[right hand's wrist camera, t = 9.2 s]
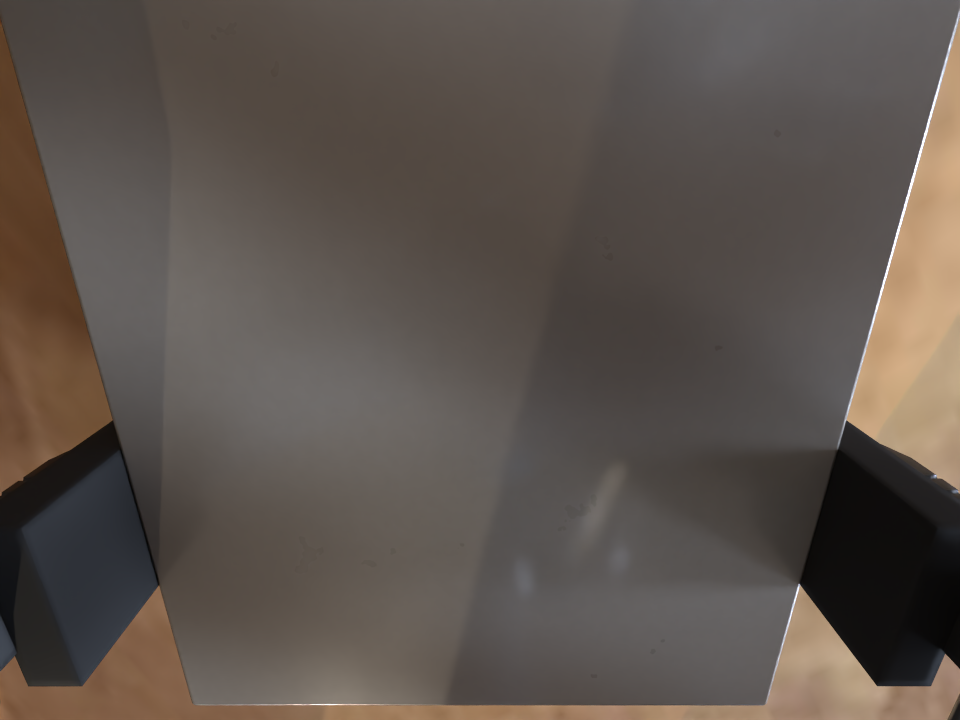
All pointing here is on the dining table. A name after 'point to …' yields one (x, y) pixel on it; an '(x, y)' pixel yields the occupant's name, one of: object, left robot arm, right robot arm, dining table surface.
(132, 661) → the dining table surface
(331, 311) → the cabinet
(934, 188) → the dining table surface
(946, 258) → the dining table surface
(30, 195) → the dining table surface
